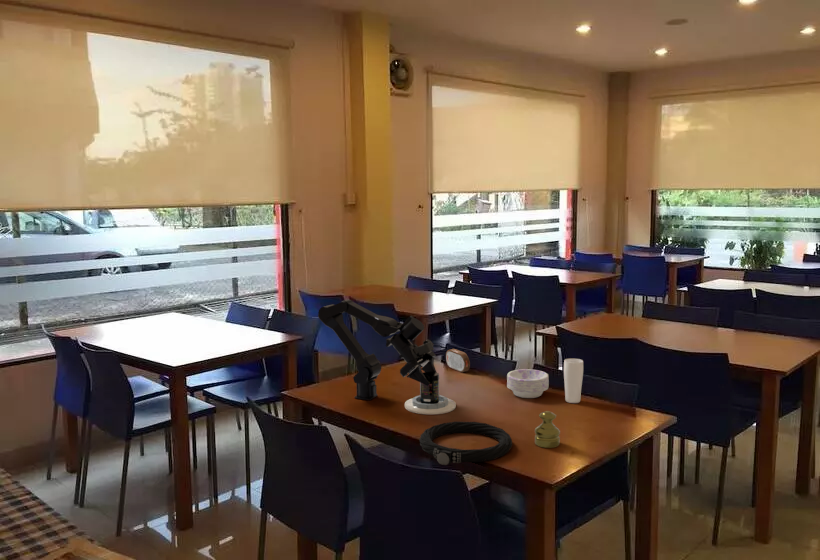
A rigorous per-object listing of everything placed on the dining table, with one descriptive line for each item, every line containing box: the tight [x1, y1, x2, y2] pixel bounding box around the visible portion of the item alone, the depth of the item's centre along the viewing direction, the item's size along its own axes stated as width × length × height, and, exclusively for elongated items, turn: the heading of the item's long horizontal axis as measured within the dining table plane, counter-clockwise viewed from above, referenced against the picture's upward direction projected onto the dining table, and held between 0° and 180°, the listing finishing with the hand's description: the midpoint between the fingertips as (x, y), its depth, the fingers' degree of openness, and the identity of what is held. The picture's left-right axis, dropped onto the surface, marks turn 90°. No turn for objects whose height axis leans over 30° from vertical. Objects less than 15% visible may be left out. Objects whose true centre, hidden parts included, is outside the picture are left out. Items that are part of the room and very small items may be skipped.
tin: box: [445, 348, 471, 373], centre depth 292 cm, size 15×3×8 cm, turn 30°
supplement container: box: [419, 371, 440, 404], centre depth 242 cm, size 7×7×10 cm
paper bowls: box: [506, 368, 550, 399], centre depth 255 cm, size 15×15×8 cm
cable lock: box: [418, 421, 513, 466], centre depth 204 cm, size 28×4×30 cm
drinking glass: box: [563, 358, 584, 404], centre depth 246 cm, size 7×7×15 cm
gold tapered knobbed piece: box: [534, 410, 561, 449], centre depth 205 cm, size 7×8×10 cm
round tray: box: [404, 394, 457, 416], centre depth 243 cm, size 18×18×2 cm
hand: (433, 382), depth 241 cm, fingers open, 8 cm apart
